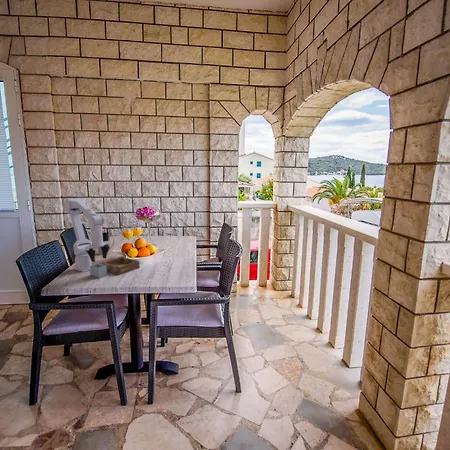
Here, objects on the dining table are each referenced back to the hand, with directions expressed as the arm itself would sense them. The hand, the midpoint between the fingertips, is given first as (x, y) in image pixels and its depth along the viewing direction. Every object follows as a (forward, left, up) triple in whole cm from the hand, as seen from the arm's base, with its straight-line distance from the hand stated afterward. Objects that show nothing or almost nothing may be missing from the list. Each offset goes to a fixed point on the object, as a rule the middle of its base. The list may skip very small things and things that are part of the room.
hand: (98, 259), depth 167 cm
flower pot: (-12, +31, -10) cm, 34 cm away
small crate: (-1, 0, -10) cm, 10 cm away
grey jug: (-37, +33, -10) cm, 50 cm away
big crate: (0, +15, -10) cm, 17 cm away
